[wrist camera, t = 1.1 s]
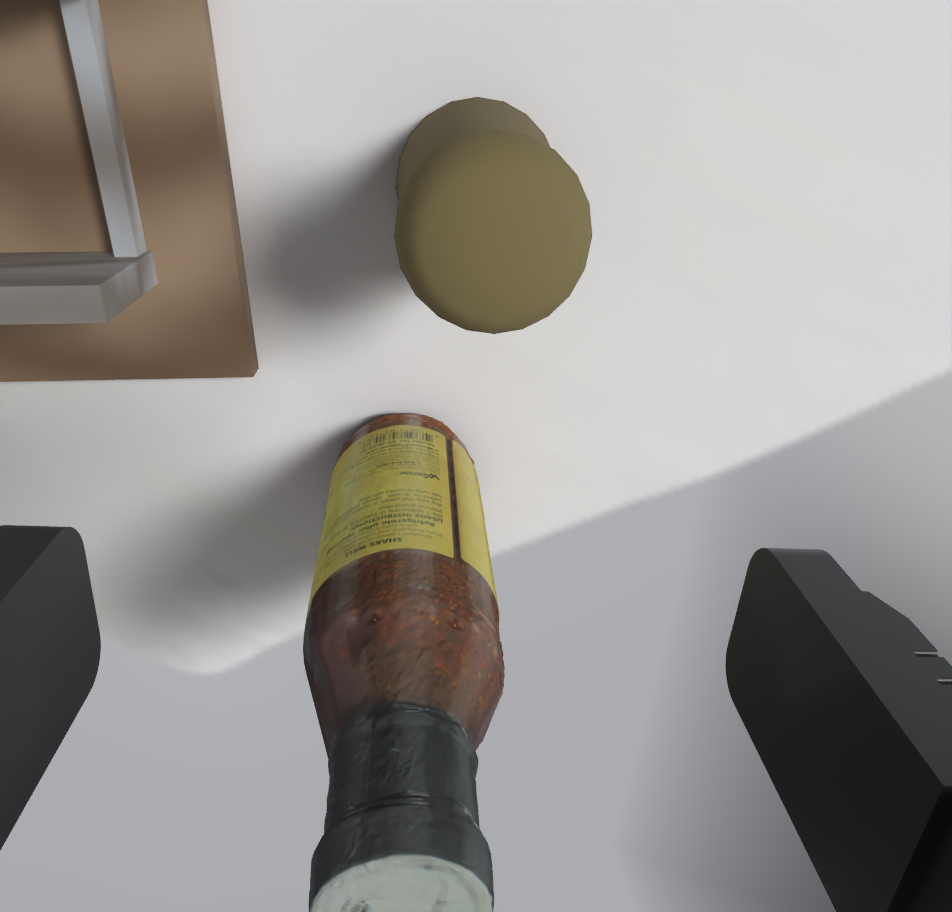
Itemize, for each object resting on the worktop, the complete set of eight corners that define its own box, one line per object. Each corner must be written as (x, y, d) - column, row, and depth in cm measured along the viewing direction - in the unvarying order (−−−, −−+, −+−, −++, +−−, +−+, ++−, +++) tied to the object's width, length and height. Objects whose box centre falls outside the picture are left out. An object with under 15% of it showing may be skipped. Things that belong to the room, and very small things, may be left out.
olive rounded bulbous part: (378, 240, 29) (347, 327, 20) (421, 72, 27) (412, 75, 17) (526, 287, 30) (568, 391, 21) (582, 129, 28) (659, 163, 18)
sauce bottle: (308, 482, 34) (167, 935, 16) (391, 377, 32) (332, 764, 14) (427, 556, 36) (417, 1029, 18) (512, 461, 34) (592, 893, 16)
